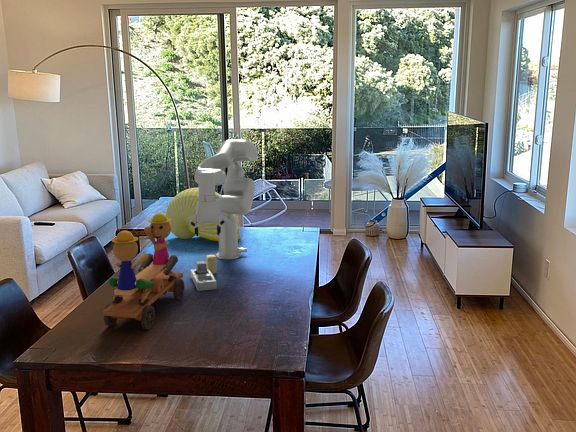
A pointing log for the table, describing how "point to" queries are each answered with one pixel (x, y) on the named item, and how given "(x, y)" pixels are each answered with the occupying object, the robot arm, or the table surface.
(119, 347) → the table surface
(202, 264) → the seated steel block
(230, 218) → the robot arm
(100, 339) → the table surface
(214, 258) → the brass block
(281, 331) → the table surface
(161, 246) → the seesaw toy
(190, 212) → the shell
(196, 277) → the grey block holder tray
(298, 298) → the table surface
